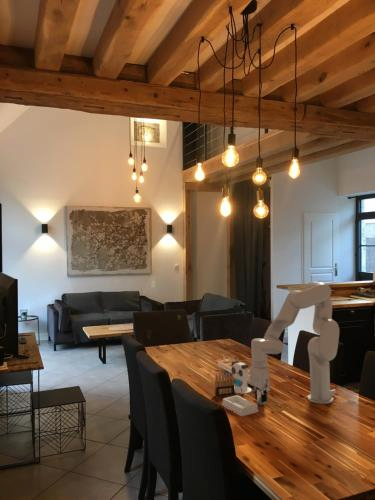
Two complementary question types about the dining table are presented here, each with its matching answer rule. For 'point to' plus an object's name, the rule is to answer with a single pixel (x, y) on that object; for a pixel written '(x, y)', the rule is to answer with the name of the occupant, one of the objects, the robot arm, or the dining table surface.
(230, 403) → the trough
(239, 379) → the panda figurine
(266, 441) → the dining table surface
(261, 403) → the cylinder
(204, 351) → the dining table surface
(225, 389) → the ammunition clip
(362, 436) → the dining table surface
